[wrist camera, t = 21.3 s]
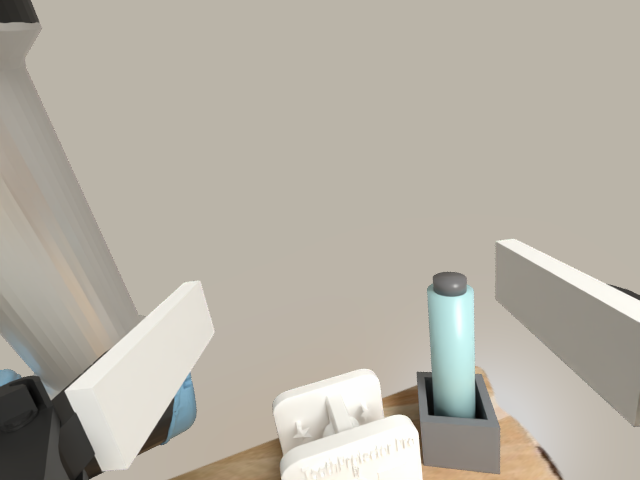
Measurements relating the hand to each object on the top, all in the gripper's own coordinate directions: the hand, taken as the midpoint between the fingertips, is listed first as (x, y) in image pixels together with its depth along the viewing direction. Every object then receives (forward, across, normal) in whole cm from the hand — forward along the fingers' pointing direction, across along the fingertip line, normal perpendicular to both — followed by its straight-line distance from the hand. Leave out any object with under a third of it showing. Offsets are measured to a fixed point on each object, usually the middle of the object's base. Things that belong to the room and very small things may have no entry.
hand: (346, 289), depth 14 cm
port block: (+20, +11, -34) cm, 41 cm away
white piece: (+16, -3, -34) cm, 38 cm away
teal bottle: (+20, +11, -34) cm, 41 cm away
